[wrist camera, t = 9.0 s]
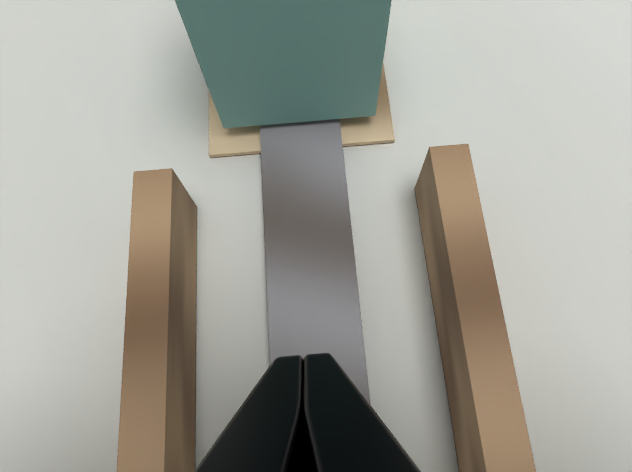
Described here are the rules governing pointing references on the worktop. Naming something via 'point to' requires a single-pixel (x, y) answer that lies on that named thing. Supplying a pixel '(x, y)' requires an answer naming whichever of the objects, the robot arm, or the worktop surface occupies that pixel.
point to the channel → (315, 289)
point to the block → (289, 57)
